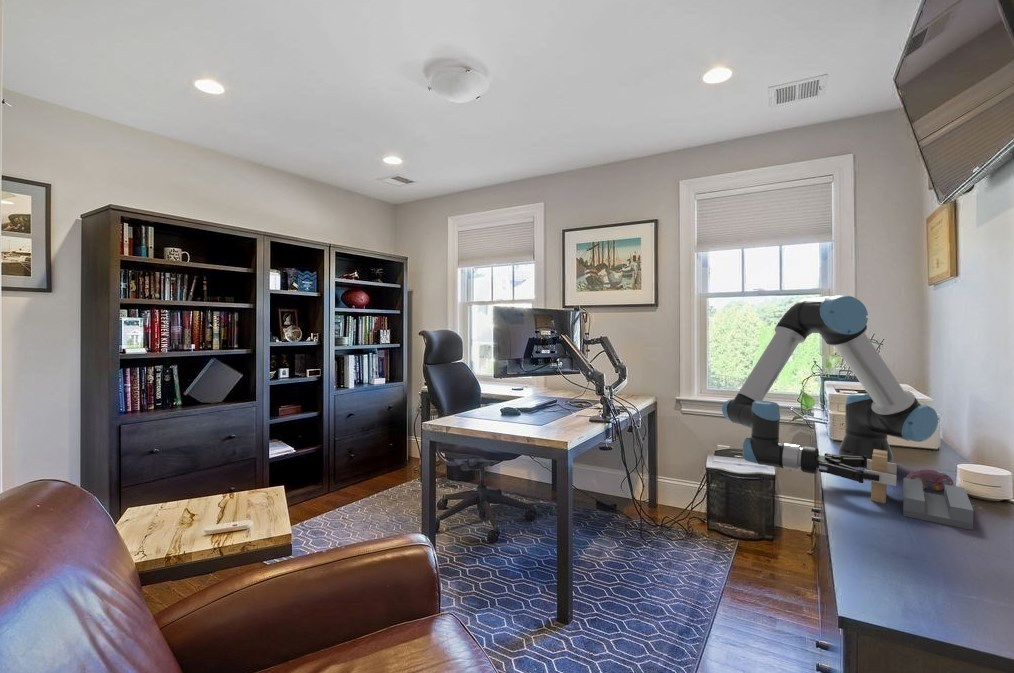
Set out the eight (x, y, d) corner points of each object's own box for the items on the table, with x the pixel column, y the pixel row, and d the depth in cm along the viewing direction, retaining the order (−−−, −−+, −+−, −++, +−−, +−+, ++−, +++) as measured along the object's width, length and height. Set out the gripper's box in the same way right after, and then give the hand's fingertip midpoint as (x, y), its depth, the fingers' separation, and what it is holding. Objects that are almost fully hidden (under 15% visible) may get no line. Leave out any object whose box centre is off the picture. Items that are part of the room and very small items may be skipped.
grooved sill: (903, 493, 128) (903, 477, 128) (963, 504, 120) (964, 487, 120) (903, 515, 113) (903, 497, 113) (972, 530, 105) (973, 510, 105)
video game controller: (906, 492, 134) (911, 473, 131) (902, 481, 138) (906, 462, 135) (952, 498, 130) (957, 479, 127) (947, 486, 133) (951, 467, 130)
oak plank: (872, 491, 130) (873, 449, 129) (886, 494, 128) (887, 451, 128) (871, 500, 123) (872, 455, 123) (885, 503, 121) (886, 457, 121)
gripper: (807, 462, 146) (896, 477, 132) (793, 481, 128) (895, 501, 114) (808, 438, 146) (897, 451, 132) (794, 454, 127) (896, 470, 113)
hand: (896, 474), depth 123 cm, fingers open, 12 cm apart
